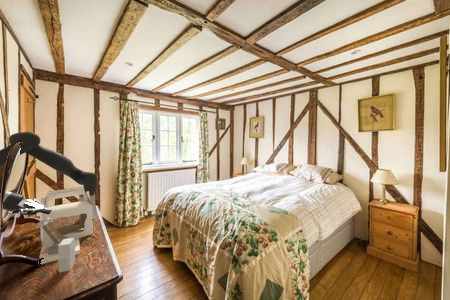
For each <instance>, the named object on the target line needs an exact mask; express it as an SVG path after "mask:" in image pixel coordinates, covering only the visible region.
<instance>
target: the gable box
mask: <svg viewBox="0 0 450 300" xmlns="http://www.w3.org/2000/svg"><path fill="white" fill-rule="evenodd" d="M79 195H83V196H84V201H79V200H78V201H74V202H68V203H62V204H56V205H50V206H49V201H50V200H57V199H62V198H67V197H75V196H79ZM40 202H41V203H43V206H44V207H46V208H49V209H52V211H51V212H50V214H45V213H41V212H40V213H39V222H40V221H42V220H43V219H45V218H47V217H48V216H49V218H50V219H51V222H52V221H54V220H57V219H60V218H69V217H74V216H78V217H79V214H80V217H79V219H80V221H79V222H78V223H77V224H75V225H73V224H72V225H64V226H62V227H59V228H57V229H58V231H59V232H60V233H61V234H62V236H63V237H65V236H68V238H74V239H78V238H79V239H81V238H84V237H87V236H91V234H92V235H94V234H93V232H94V230H93V228H94V227H93V220H92V204H91V202H90V196H89V191H87V192H85V191H84V188H83V186H78V187H70V188H64V189H57V190H49V191H47V193H46V196H45V197H41V199H40ZM79 219H78V220H79ZM84 227H85V229H84V231H83V230H78V229H81V228H84ZM39 228H40V227H39ZM40 241H41V245H42V247H44V246H48V245H52V244H54V242H53V240H52V239H51V238H50V237H49V235H48V234H47V233H46V232H45V231H44V229H43V228H42V227H41V228H40Z"/></svg>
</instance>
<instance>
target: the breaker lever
mask: <svg viewBox="0 0 450 300" xmlns="http://www.w3.org/2000/svg"><path fill="white" fill-rule="evenodd" d="M37 225H38V226H39V228H41V227H42V228H43V229H44V231H45V232H46V233H47V234H48V235H49V237H50V238H51V239H52V240H53V242H54V243H55V244H59V243H61V242H62V240H63V239H64V237H63V236H62V234H61V233H60V232H59V231H58V229H59V228H57V226H55V224H54V222H52V221H51V219H50V218H49V216H48V217H47V218H45V219H43V220H42V221H40V220H39V222H37Z"/></svg>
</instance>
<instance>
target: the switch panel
mask: <svg viewBox="0 0 450 300" xmlns="http://www.w3.org/2000/svg"><path fill="white" fill-rule="evenodd" d="M64 239H68V236H65V237H64ZM74 241H75V256H77V255H80V254H81V246H80V238H78V239H74ZM59 244H60V243H59ZM59 244H55V243H54V244H52V245H48V246H44V247H43V246H42V247H41V248H40V249H41V250H40V254H39V257H38V259H39V258H42V257H44V259H42V260H41V263H40V264H41V265H44V264H49V263H51V262H54V261H58V245H59Z"/></svg>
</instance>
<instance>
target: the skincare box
mask: <svg viewBox="0 0 450 300" xmlns="http://www.w3.org/2000/svg"><path fill="white" fill-rule="evenodd" d="M57 261H58V273H64V272H70V271H71V270H72V268H73V266H75V263H76V255H75V241H74V238H68V239H63V240H62V242H61V243H60V244H59V245H58V260H57Z"/></svg>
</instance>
